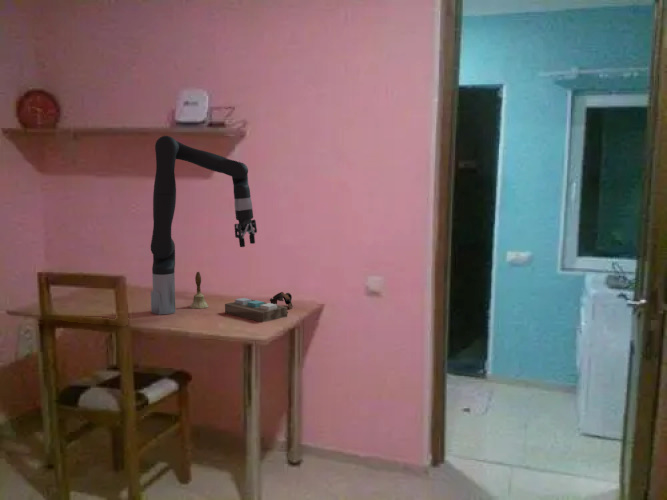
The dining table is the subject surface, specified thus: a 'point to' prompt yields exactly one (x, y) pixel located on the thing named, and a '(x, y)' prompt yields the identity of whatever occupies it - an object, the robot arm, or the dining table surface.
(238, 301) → the grey key
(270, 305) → the cream key
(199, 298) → the hand bell
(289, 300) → the pottery mug
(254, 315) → the console
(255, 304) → the teal key
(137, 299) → the dining table surface
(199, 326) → the dining table surface
